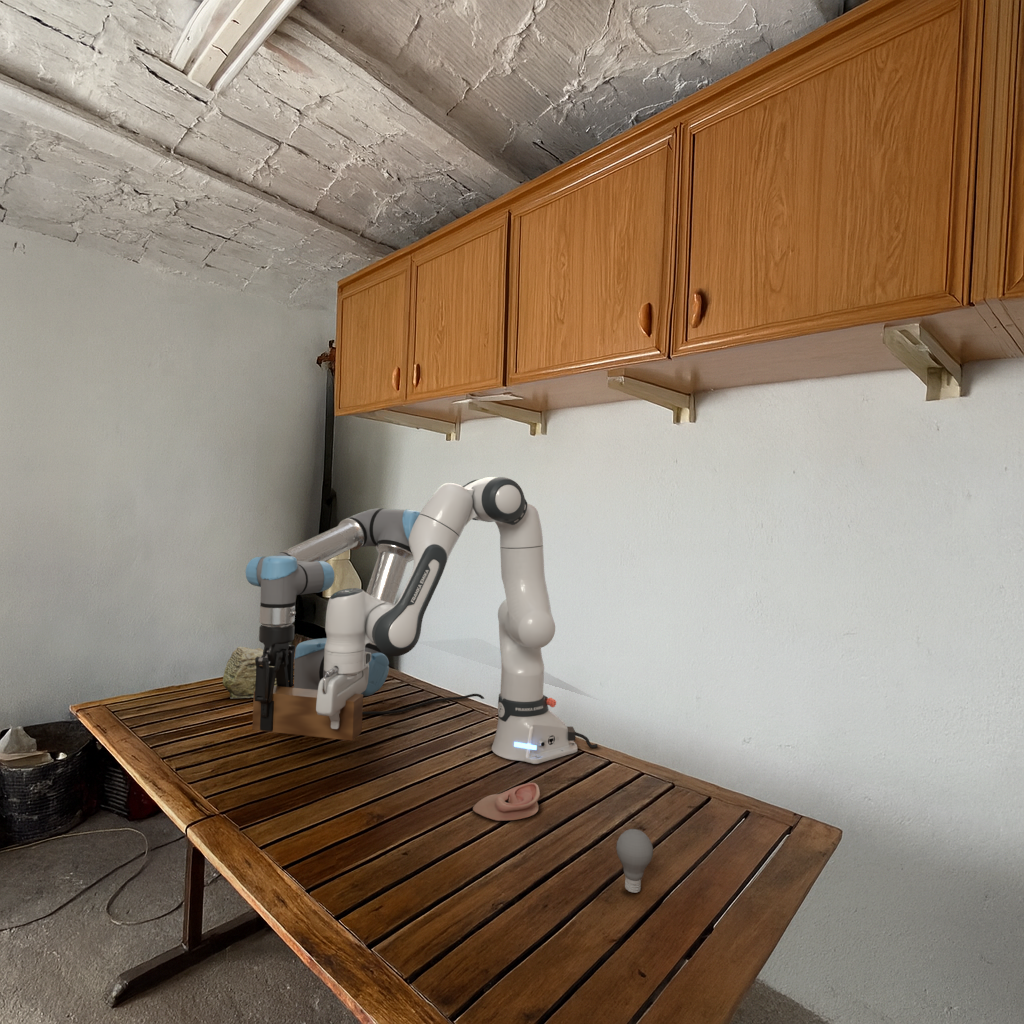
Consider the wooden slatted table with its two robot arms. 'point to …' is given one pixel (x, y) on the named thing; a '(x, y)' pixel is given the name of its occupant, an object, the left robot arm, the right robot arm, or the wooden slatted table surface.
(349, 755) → the wooden slatted table surface
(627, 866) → the light bulb
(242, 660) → the fossil
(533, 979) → the wooden slatted table surface
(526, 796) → the anatomical model
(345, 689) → the right robot arm
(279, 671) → the left robot arm
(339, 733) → the bar
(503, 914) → the wooden slatted table surface
